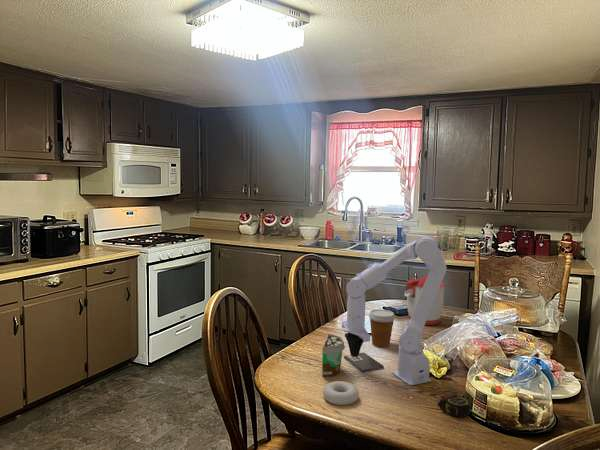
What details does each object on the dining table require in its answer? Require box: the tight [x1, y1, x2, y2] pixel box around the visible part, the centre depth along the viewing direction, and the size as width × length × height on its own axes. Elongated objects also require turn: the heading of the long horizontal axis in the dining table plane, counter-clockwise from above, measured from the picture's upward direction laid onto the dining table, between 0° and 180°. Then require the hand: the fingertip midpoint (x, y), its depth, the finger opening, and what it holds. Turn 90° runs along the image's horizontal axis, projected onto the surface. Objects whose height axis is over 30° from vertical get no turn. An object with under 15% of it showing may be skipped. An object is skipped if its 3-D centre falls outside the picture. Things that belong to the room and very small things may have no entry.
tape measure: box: [437, 394, 472, 418], centre depth 119 cm, size 7×7×4 cm
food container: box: [321, 333, 346, 378], centre depth 142 cm, size 12×6×10 cm, turn 168°
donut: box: [322, 380, 360, 406], centre depth 126 cm, size 10×4×10 cm
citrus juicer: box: [403, 275, 446, 326], centre depth 193 cm, size 16×17×20 cm
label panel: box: [343, 352, 385, 373], centre depth 149 cm, size 12×8×1 cm, turn 24°
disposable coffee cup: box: [368, 308, 396, 348], centre depth 166 cm, size 10×10×12 cm
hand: (354, 355), depth 145 cm, fingers closed
